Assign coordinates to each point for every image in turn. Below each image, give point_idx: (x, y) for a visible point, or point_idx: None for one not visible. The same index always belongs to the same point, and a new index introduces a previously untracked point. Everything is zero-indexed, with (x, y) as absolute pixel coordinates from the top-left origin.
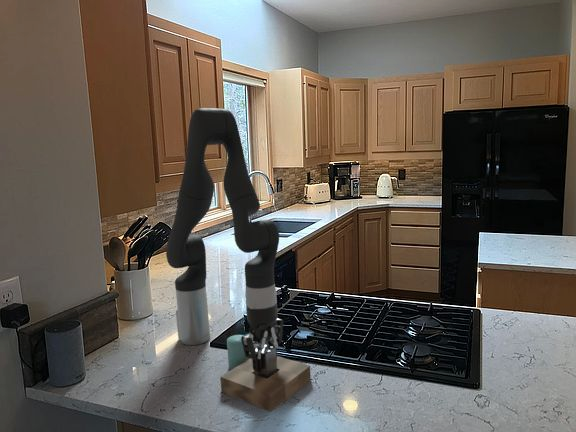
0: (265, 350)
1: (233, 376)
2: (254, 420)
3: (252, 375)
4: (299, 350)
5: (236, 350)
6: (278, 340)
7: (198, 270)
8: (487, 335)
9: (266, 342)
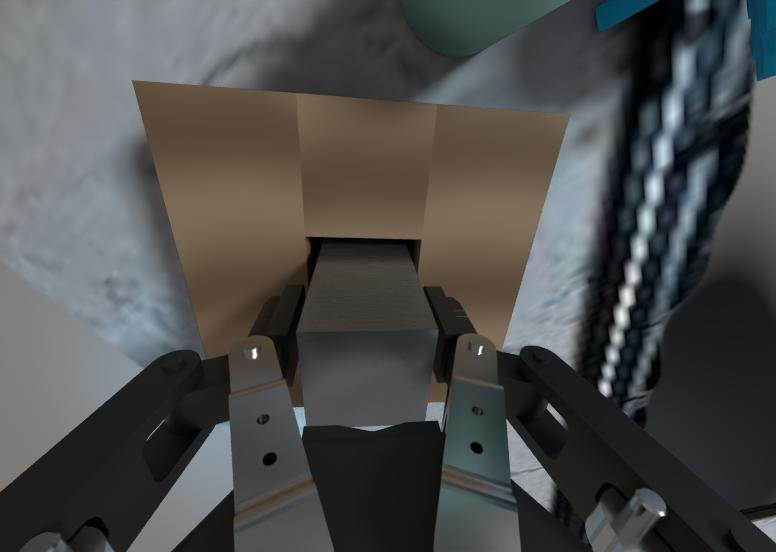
0: (350, 401)
1: (206, 167)
2: (165, 347)
3: (290, 258)
4: (693, 200)
5: None
6: (508, 416)
7: None
8: (768, 523)
9: (751, 7)
